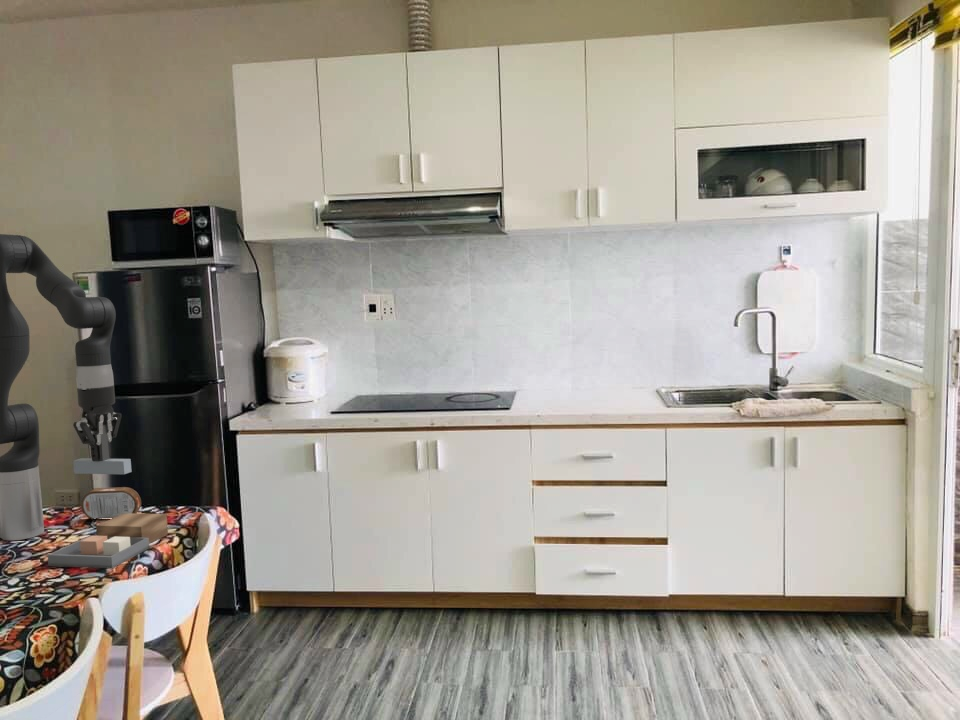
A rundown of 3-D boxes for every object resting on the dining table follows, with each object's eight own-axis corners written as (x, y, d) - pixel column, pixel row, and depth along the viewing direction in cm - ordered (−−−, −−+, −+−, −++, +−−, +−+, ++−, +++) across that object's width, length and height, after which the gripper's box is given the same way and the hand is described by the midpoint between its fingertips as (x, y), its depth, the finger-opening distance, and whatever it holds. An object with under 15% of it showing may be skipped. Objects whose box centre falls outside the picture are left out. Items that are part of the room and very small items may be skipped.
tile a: (91, 535, 174) (92, 548, 174) (80, 541, 170) (81, 554, 170) (107, 535, 174) (108, 548, 174) (96, 541, 170) (97, 554, 170)
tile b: (114, 536, 173) (115, 548, 173) (102, 542, 169) (103, 554, 169) (129, 536, 172) (130, 549, 172) (118, 542, 168) (119, 555, 169)
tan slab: (97, 546, 178) (96, 525, 177) (125, 532, 187) (123, 513, 187) (142, 547, 175) (141, 526, 175) (168, 533, 185) (166, 514, 185)
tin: (142, 515, 202) (140, 485, 202) (137, 519, 199) (135, 488, 198) (86, 518, 202) (84, 488, 201) (80, 521, 199) (78, 491, 198)
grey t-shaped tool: (74, 473, 171) (70, 426, 170) (81, 470, 174) (78, 424, 173) (124, 474, 169) (120, 426, 168) (131, 471, 171) (128, 424, 170)
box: (48, 565, 165) (47, 555, 165) (89, 546, 178) (88, 536, 178) (112, 568, 162) (111, 557, 162) (149, 548, 175) (148, 537, 175)
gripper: (101, 381, 177) (107, 453, 179) (58, 389, 163) (65, 466, 165) (130, 381, 176) (135, 453, 177) (88, 388, 162) (94, 467, 164)
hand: (101, 459), depth 171 cm, fingers closed on grey t-shaped tool, 2 cm apart
